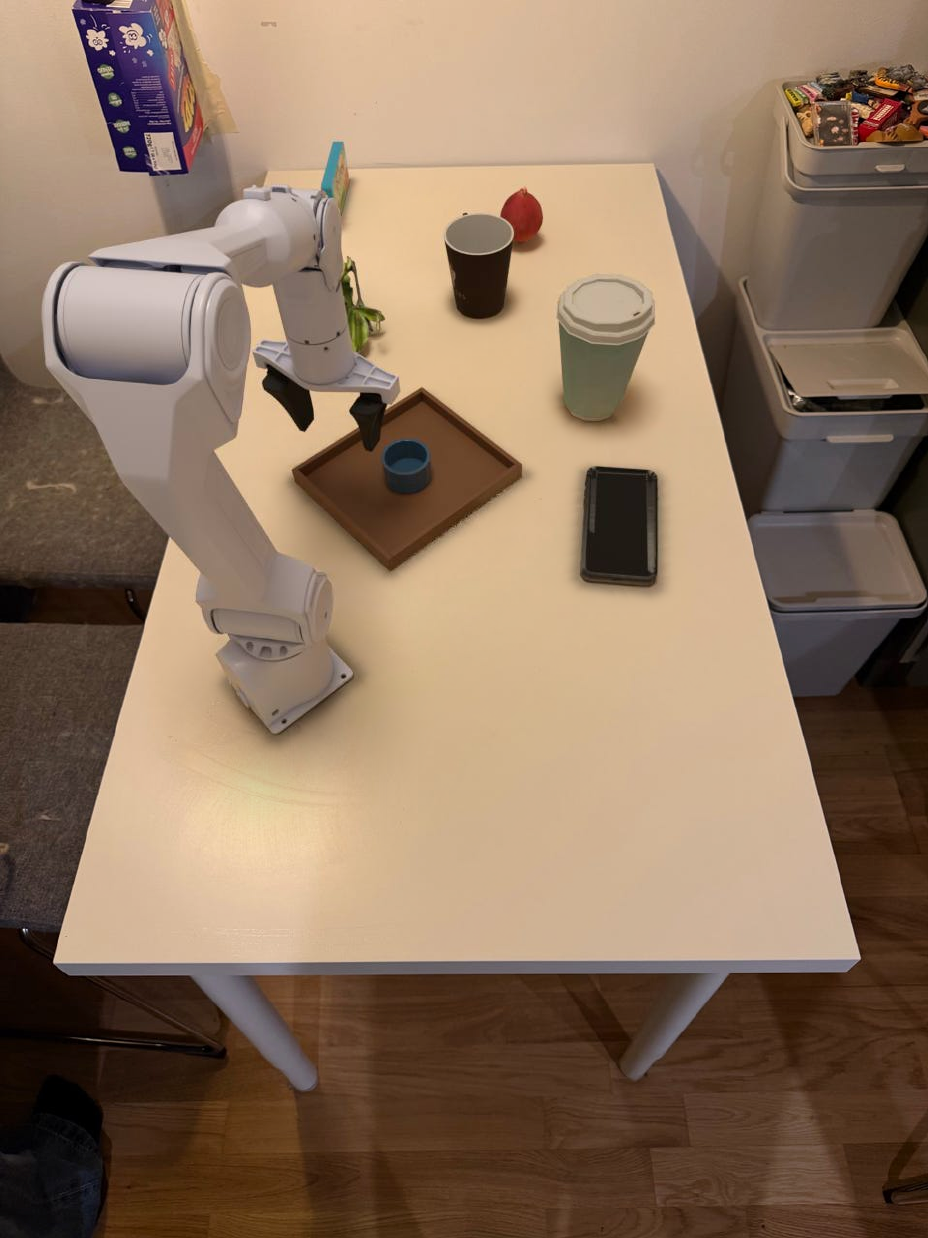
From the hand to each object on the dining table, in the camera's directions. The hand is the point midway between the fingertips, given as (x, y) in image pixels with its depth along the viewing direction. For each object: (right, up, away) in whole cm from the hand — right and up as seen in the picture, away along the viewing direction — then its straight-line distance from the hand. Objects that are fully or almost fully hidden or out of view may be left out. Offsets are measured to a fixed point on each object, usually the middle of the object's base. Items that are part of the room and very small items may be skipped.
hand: (339, 434), depth 86 cm
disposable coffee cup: (+28, +7, +15) cm, 33 cm away
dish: (+6, -3, +9) cm, 11 cm away
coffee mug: (+15, +24, +26) cm, 39 cm away
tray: (+6, -3, +9) cm, 11 cm away
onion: (+21, +34, +32) cm, 51 cm away
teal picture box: (-6, +43, +39) cm, 58 cm away
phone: (+29, -9, +4) cm, 31 cm away
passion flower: (-3, +18, +23) cm, 29 cm away
